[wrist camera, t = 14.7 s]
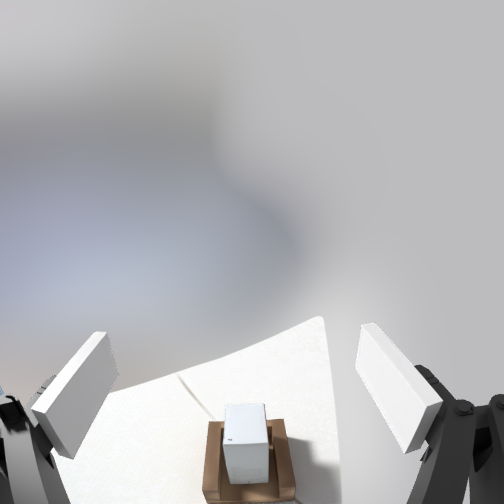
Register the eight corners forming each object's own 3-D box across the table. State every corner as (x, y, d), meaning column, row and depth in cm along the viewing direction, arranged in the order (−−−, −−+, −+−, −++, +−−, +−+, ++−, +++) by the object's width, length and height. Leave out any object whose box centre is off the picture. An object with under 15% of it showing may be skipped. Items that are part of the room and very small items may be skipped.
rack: (206, 503, 28) (202, 489, 27) (212, 437, 42) (208, 421, 41) (293, 499, 29) (295, 486, 28) (282, 435, 42) (283, 418, 41)
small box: (268, 483, 31) (269, 443, 29) (229, 485, 31) (222, 445, 29) (265, 446, 39) (265, 402, 37) (230, 447, 39) (224, 403, 36)
